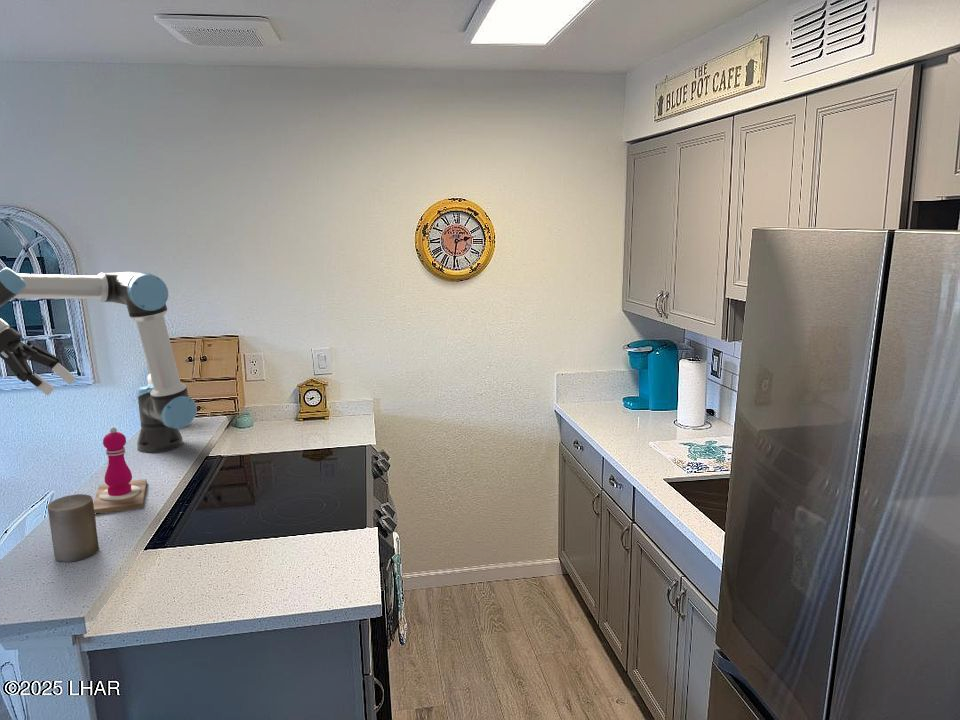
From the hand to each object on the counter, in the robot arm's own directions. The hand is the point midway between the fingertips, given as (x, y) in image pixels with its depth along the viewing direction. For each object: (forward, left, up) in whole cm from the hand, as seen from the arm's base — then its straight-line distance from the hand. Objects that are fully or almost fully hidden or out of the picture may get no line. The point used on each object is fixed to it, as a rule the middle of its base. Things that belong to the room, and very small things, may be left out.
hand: (62, 386), depth 198 cm
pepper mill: (+7, +13, -32) cm, 35 cm away
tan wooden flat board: (+7, +13, -34) cm, 37 cm away
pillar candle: (+41, +6, -34) cm, 54 cm away
